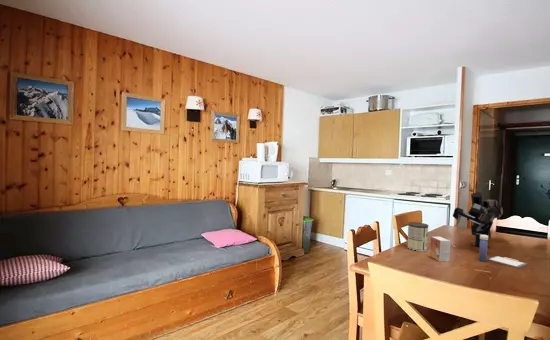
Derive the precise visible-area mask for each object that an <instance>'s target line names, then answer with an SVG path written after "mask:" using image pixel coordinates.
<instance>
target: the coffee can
mask: <svg viewBox="0 0 550 340" xmlns="http://www.w3.org/2000/svg"><path fill="white" fill-rule="evenodd" d="M407 225H408V226H407V228H408V229H407V246H406V248H407V249H408V248H409V249H408V250H410V249H412V250H411V251H414V250H416V251H415V252H427V251H428V241H429V240H428V239H429V237H428V235H429V227H430V226H429V224H428V223H424V222H417V221H416V222H415V221H414V222H413V221H412V222H411V221H410V222H408V223H407Z"/></svg>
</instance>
